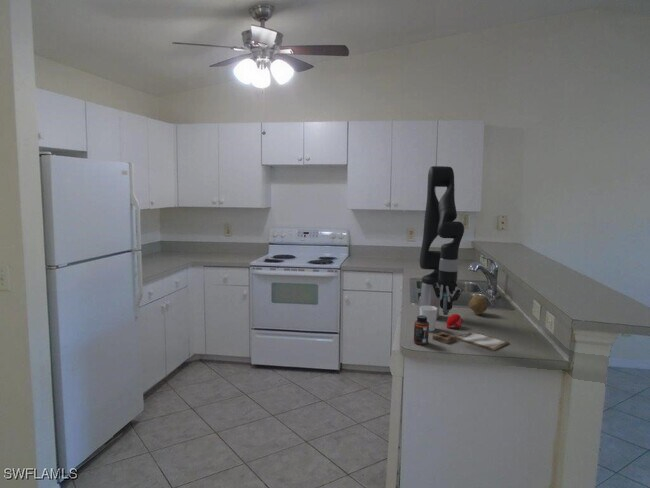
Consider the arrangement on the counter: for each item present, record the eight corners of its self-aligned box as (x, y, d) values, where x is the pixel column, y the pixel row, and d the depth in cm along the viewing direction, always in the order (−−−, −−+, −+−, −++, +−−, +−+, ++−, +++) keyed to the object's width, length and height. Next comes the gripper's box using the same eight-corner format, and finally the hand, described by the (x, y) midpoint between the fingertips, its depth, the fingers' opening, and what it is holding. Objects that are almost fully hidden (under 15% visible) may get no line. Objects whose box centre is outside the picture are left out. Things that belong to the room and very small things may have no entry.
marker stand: (432, 339, 188) (432, 335, 187) (441, 335, 192) (442, 331, 192) (446, 343, 182) (446, 339, 182) (456, 340, 187) (456, 336, 187)
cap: (455, 317, 209) (446, 311, 207) (465, 316, 204) (455, 310, 202) (451, 332, 206) (442, 327, 204) (460, 332, 201) (451, 326, 199)
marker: (440, 313, 186) (442, 293, 185) (444, 312, 188) (446, 292, 187) (446, 315, 184) (447, 294, 183) (450, 314, 186) (451, 293, 184)
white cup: (427, 333, 195) (428, 311, 194) (414, 327, 202) (415, 306, 201) (439, 330, 200) (441, 308, 198) (427, 325, 206) (428, 304, 205)
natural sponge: (464, 314, 226) (466, 295, 224) (473, 310, 232) (474, 292, 230) (481, 318, 219) (483, 298, 218) (489, 314, 225) (491, 295, 224)
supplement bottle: (428, 345, 180) (429, 319, 178) (413, 344, 181) (414, 318, 179) (427, 340, 185) (429, 314, 184) (413, 339, 186) (414, 313, 185)
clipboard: (454, 338, 189) (454, 336, 189) (470, 332, 197) (470, 330, 197) (493, 351, 175) (494, 348, 175) (509, 343, 184) (509, 341, 184)
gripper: (429, 267, 186) (426, 306, 188) (458, 273, 175) (455, 314, 178) (439, 265, 191) (437, 303, 193) (468, 270, 180) (465, 311, 183)
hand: (445, 308), depth 186 cm, fingers closed on marker, 2 cm apart
